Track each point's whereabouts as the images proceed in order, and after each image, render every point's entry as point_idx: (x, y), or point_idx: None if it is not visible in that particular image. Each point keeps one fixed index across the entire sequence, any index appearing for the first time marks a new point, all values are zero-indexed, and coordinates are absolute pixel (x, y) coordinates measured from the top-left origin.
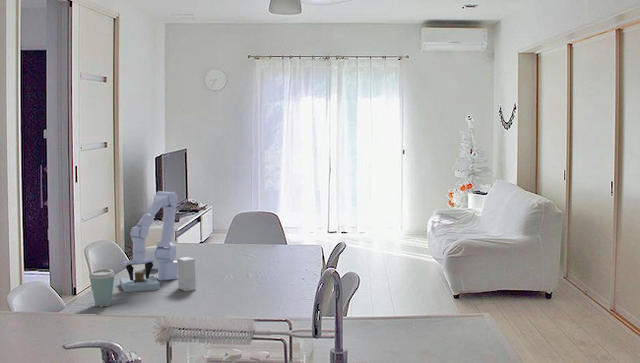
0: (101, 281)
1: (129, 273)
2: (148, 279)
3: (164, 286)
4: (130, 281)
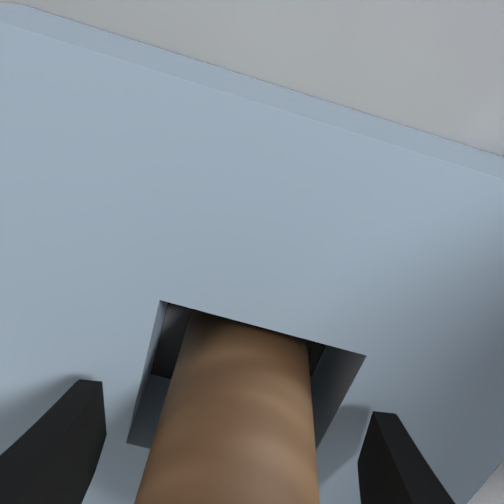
0: None
1: (2, 486)
2: (399, 417)
3: (497, 470)
4: (90, 368)
